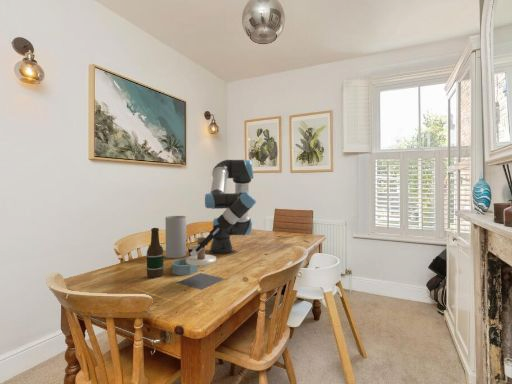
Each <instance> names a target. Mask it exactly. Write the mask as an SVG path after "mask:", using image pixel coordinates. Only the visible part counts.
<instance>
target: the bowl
mask: <svg viewBox="0 0 512 384" xmlns="http://www.w3.org/2000/svg"><path fill="white" fill-rule="evenodd" d="M171 263H172V264H171V267H172V268H171V274H173V275H176V276H190V275H192V274H195V273H198V266H193V265H189V264H187V263H186V258H183V259H181V258H179V259H177V260H174V261H172V262H171Z"/></svg>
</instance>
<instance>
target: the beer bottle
mask: <svg viewBox="0 0 512 384" xmlns="http://www.w3.org/2000/svg"><path fill="white" fill-rule="evenodd" d="M159 230H160V229H159V228H158V227H153V228H151V229H150V231H151V233H150V234H151V235H150V237H151V238H150V243H149V244H150V245H149V246H148V248H147V250H146V277H147V278H148V279H151V280H152V279H158V278H162V277H163V276H164V273H165V272H164V270H165V269H164V248H163V246H162V245H161V244H160V235H159Z"/></svg>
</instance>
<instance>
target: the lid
mask: <svg viewBox="0 0 512 384" xmlns="http://www.w3.org/2000/svg"><path fill="white" fill-rule="evenodd" d="M205 238H206V237H204V236H199V237H197V239H196V240H197V241H196V246H198V245H199V242H200V243H201V242H202V241H203V240H204V239H205ZM205 250H206V246H205V247H204V248H203V249H202V250H201V251H200V252H199V253H198V254H197V255H196V256H195V257H194V258H193V257H192V256H190V257H189V256H188V257H186V258H185V259H186V263H187V264H189V265H193V266H197V267H201V266H202V267H204V266H209V265H212V264H214V263H216V262H217V256H215V255H213V254H206V251H205Z"/></svg>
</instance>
